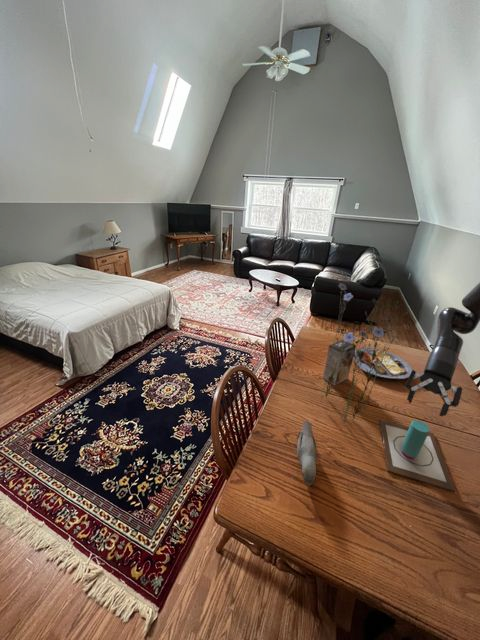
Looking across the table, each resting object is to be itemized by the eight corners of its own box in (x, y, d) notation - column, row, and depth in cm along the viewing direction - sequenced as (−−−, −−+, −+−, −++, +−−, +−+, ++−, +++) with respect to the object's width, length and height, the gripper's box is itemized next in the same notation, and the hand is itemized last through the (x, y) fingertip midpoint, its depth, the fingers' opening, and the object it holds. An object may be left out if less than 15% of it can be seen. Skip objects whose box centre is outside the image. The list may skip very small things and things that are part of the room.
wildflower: (387, 419, 92) (433, 296, 73) (344, 447, 81) (385, 310, 62) (336, 382, 109) (362, 275, 90) (294, 401, 98) (314, 283, 79)
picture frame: (432, 434, 87) (433, 433, 87) (454, 492, 70) (455, 490, 70) (379, 420, 92) (379, 419, 91) (387, 471, 74) (388, 470, 74)
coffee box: (335, 370, 117) (342, 338, 110) (348, 378, 112) (357, 345, 106) (321, 377, 112) (329, 344, 105) (334, 386, 107) (343, 352, 100)
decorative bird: (297, 486, 69) (301, 467, 66) (294, 436, 84) (297, 418, 81) (318, 490, 69) (323, 470, 66) (312, 439, 83) (315, 421, 80)
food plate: (345, 349, 134) (346, 343, 132) (392, 352, 133) (394, 346, 132) (364, 381, 111) (366, 374, 110) (420, 384, 111) (423, 377, 109)
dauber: (414, 450, 80) (427, 422, 76) (418, 462, 77) (431, 434, 72) (398, 445, 82) (410, 418, 77) (401, 457, 78) (413, 429, 73)
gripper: (418, 351, 89) (400, 396, 85) (472, 369, 81) (455, 418, 77) (415, 358, 95) (399, 400, 91) (465, 375, 87) (449, 422, 83)
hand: (425, 409), depth 84 cm, fingers open, 8 cm apart
